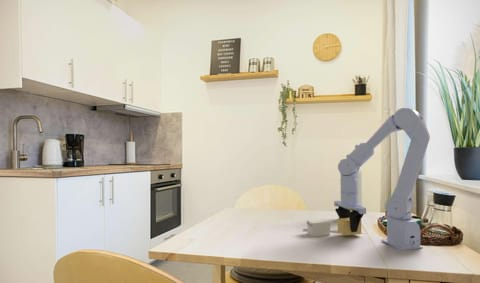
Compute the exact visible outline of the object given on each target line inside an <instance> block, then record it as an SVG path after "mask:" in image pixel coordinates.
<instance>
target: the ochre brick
mask: <svg viewBox="0 0 480 283" xmlns="http://www.w3.org/2000/svg"><path fill="white" fill-rule="evenodd" d="M337 231H338V233H337V234H340V235H342V236H355V235H356V236H357V235H362V234H361V233H362V219H361V220H360V223H359V226H358V230H357V232H351V227H350V219H349V218H339V217H338V218H337Z"/></svg>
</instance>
